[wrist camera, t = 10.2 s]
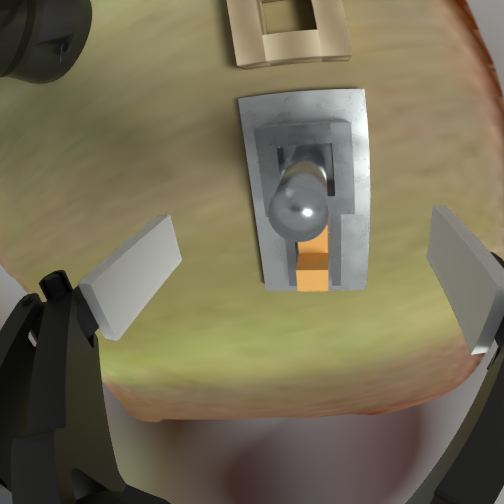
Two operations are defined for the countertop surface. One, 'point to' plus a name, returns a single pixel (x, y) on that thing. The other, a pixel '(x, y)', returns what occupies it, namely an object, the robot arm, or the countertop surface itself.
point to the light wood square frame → (288, 36)
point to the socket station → (337, 176)
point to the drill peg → (301, 197)
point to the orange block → (313, 264)
